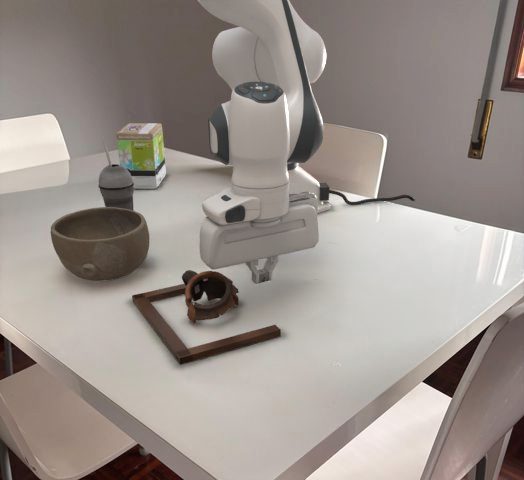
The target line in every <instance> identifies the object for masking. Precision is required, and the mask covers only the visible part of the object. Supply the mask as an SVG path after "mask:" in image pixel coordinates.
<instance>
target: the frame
mask: <svg viewBox="0 0 524 480" xmlns="http://www.w3.org/2000/svg"><path fill="white" fill-rule="evenodd" d="M205 280H206V281H207V280H208V278H207V279H203V281H205ZM185 289H186V285H185V284H184V283H181V284H177V285H172V286H168V287H163V288H158V289H155V290H150V291H145V292H141V293H137V294H133V295H131V300H132V302H133V304H134V306H135V307H136V308H137V309H138V311H139V312H140V313H141V315H142V316H143V317H144V318H145V320H146V321H147V323H148V324H149V325H150V327H151V328H152V329H153V330H154V332H155V333H156V335H157V336H158V337H159V339H160V341H162V343H163V344H164V345H165V347H166V348H167V349H168V351H169V352H170V353H171V355H172V356H173V357H174V358H175V359H174V360H176V361H177V362H178V364H179V365H180V366H181V365H184V364H188V363H191V362H195V361H198V360H202V359H206V358H209V357H212V356H216V355H220V354H223V353H226V352H230V351H232V350H234V351H235V350H237V349H240V348H244V347H248V346H251V345H254V344H258V343H262V342H264V341H269V340H271V339H275V338H278V337H281V333H282V330H281V328H280V327H279V326H277V325H276V324H271V325H268V326H265V327H261V328H257V329H254V330H250V331H247V332H243V333H238V334H236V335H232V336H228V337H224V338H221V339H218V340H213V341H211V342H207V343H203V344H199V345H196V346H193V347H187V345H186V344H185V343H184V342H183V341H182V340H181V338H180V337H179V336H178V334H177V333H176V332H175V331H174V330H173V328H172V327H171V326H170V325H169V323H168V322H167V321H166V319H165V318H164V317H163V316H162V314H161V313H160V312H159V311H158V310H157V308H156V307H155V306H154V305H153V303H152V302H157V301H161V300H165V299H170V298H175V297H179V296H183V295H185Z"/></svg>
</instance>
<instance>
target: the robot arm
mask: <svg viewBox="0 0 524 480" xmlns="http://www.w3.org/2000/svg"><path fill="white" fill-rule="evenodd" d="M197 2H198V3H199V4H200V5H201V7H202V8H204V9H205V10H206V11H207V12H208V13H209V14H211V15H212V16H214V17H216V18H217V19H219V20H221V21H223V22H226V23H228V24H232V25H234V26H236V27H232V28H229V29H226V30H222V31H220V32H219V33H218V35H217V36H216V37H215V40H214V42H213V45H212V50H211V59H212V64H213V67H214V69H215V72H216V73H217V74H218V76H219V77H220V78H221V79H222V80H223V81H224V82H225V83H226V84H227V85H228V87H229V88H230V89H231V95H230V100H228V101H226V102H222V103H219V104H218V105H217V106H216V107H215V108H214V109H213V110H212V112H211V114H210V115H209V116H208V118H207V126H208V127H207V129H208V143H209V144H208V145H209V146H208V147H209V152H210V155H212V156H213V157H214V158H215V159H216V160H218V161H219V162H220V163H222V164H223V165H225V166H232V175H231V181H230V182H231V185H230V186H228V187H227V188H225V189H224V190H221V191H220V192H218V193H216V194H215V195H212V196H211V197H208V198H207V199H205V200H204V201H203V202H202V205H201V206H202V207H201V208H202V211H203V213H204V215H205V216H206V217H204V218H203V220H202V222H201V225H200V229H199V257H200V260H201V261H202V263H204V265H205V266H206V267H208V268H209V269H210V270H212V271H214V270H218V269H224V268H228V267H233V266H237V265H241V264H245V265H246V267H247V268H248V269H249V271H250V272H251V281H252V283H253V284H255V285H258V284H262V283H266V282H270V281H272V280H273V271H274V270H275V267H276V266H277V265H278V262H279V256H281V255H287V254H291V253H295V252H300V251H304V250H309V249H310V250H311V249H314V248H315V247H316V246H317V244H318V243H319V241H320V234H319V233H320V232H319V231H320V230H319V219H318V214H320V213H323V212H326V211H330V210H331V204H330V202H329V201H330V194H331V195H336V196H339V197H340V198H341V199H343V201H344V203H345V204H346V205H350V206H357V205H363V204H366V203H367V204H368V203H377V202H391V201H392V202H393V201H398V200H403V199H409V201H412V202H415V201H416V199H415V198H414V197H413V196H412V195H409V194H401V195H400V194H399V195H397V196H392V197H376V198H375V197H374V198H365V199H362V200H357V201H351V200H349V199H348V197H347V196H346V194H344V193H342V192H339V191H337V190H333V189H332V190H331V189H330V186H329V184H328V183H327V182H319V181H318V180H317V179H316V178H315V177H314V176H312V175H311V174H310V173H309V172H307V171H306V170H305V169H304V168H302V167H301V166H300V164H305V163H307V162H308V161H309V160H310V159H311V158H312V157H313V156H314V155H315V154H316V153H317V151H318V150H319V149H320V147H321V146H322V144H323V141H324V122H323V117H322V114H321V111H320V109H319V106H318V103H317V101H316V98H315V95H314V93H313V89H312V87H311V84H314V83H316V82H317V80H318V79H319V78H320V77H321V76H322V74H323V72H324V69H325V66H326V64H327V63H326V62H327V50H326V45H325V43H324V39H323V38H322V36H321V35H320V34H319V32H317V31H315V29H313V28H311V26H309V25H308V24H307V23H306V22H305V21H304V20H303V18H301V17H300V15H299V14H298V12H297V11H296V10H295V8H294V7H293V5H292V3H291V1H290V0H197ZM264 259H266V260H265V261H266V262H265V263H264V266H263V268H259V269H257V266H258V265H259V261H260V260H264Z"/></svg>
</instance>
